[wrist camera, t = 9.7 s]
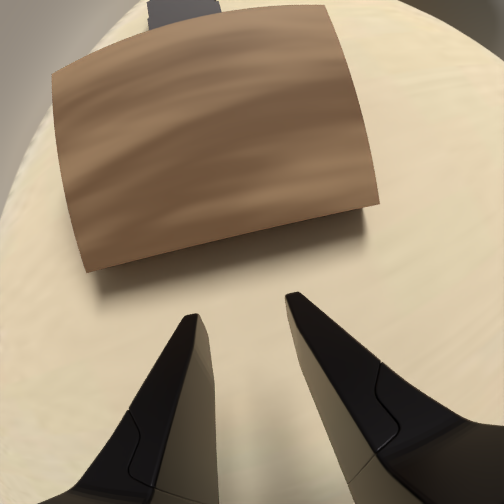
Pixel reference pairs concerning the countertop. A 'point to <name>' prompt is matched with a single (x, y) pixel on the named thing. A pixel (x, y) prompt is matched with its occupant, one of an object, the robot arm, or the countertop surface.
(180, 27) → the board
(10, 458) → the countertop surface
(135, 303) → the countertop surface
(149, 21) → the domino
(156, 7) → the domino
